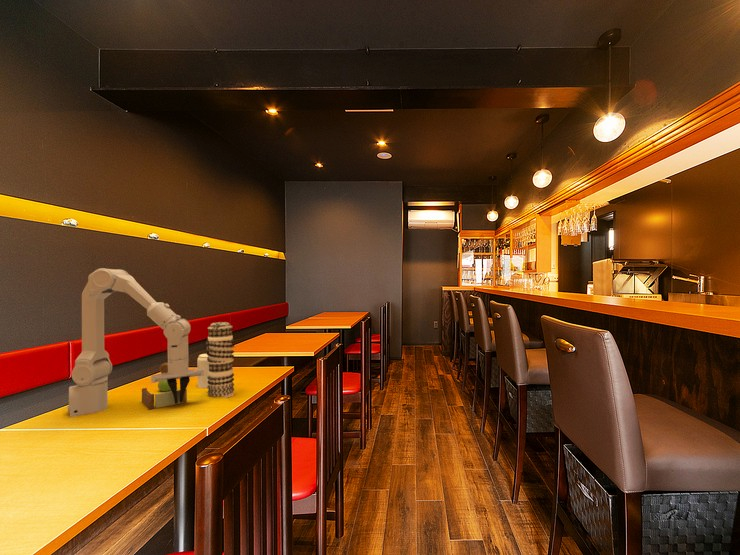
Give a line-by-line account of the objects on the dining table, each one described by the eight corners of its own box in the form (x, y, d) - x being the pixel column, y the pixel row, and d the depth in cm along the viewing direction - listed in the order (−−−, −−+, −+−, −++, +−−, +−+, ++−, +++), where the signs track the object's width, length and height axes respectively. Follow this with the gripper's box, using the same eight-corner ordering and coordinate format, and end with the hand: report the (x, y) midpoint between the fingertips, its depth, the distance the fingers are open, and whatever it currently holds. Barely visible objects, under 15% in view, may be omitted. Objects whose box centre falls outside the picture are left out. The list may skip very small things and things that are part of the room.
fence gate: (155, 408, 110) (155, 395, 110) (155, 407, 111) (155, 394, 111) (187, 402, 115) (187, 389, 115) (186, 401, 116) (186, 388, 116)
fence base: (148, 410, 109) (148, 395, 109) (141, 402, 116) (141, 388, 116) (154, 409, 110) (154, 394, 110) (146, 401, 118) (146, 387, 118)
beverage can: (192, 389, 132) (192, 356, 132) (208, 383, 140) (208, 352, 140) (210, 390, 130) (210, 357, 130) (225, 384, 138) (225, 353, 138)
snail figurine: (172, 394, 126) (172, 360, 126) (154, 394, 126) (154, 360, 127) (181, 389, 132) (180, 356, 132) (163, 389, 132) (163, 357, 132)
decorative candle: (210, 401, 118) (210, 325, 118) (203, 395, 125) (202, 322, 125) (239, 395, 123) (238, 322, 124) (229, 389, 130) (229, 320, 131)
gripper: (201, 353, 120) (202, 394, 120) (150, 359, 112) (151, 403, 112) (204, 357, 114) (205, 400, 114) (151, 363, 106) (151, 409, 106)
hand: (178, 402), depth 112 cm, fingers closed, pressing on fence gate
